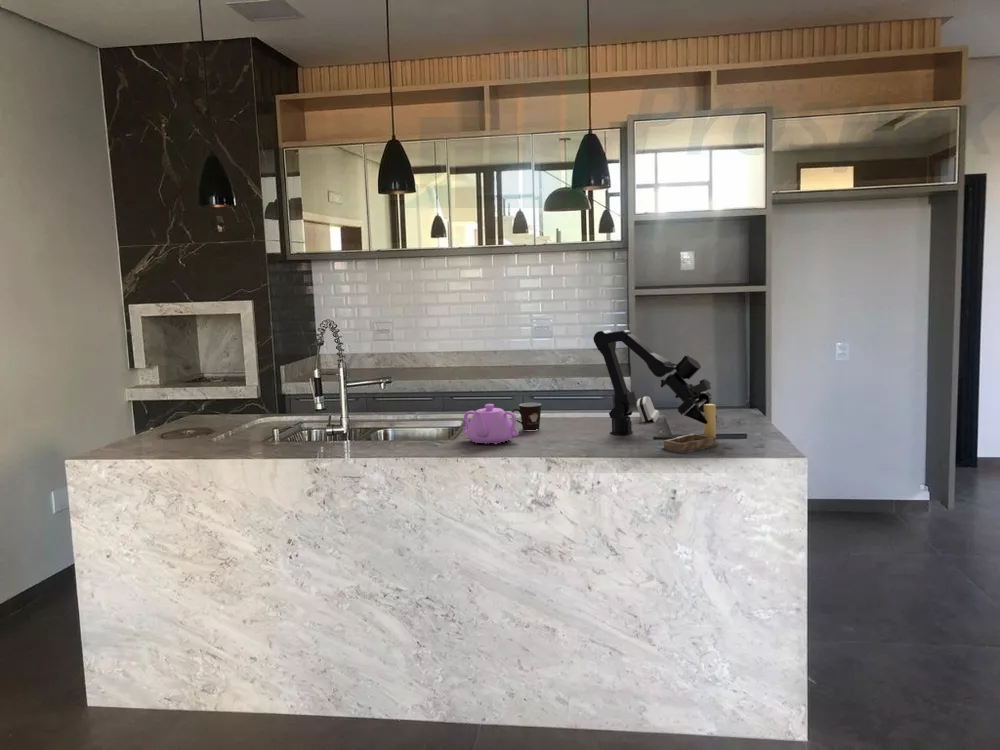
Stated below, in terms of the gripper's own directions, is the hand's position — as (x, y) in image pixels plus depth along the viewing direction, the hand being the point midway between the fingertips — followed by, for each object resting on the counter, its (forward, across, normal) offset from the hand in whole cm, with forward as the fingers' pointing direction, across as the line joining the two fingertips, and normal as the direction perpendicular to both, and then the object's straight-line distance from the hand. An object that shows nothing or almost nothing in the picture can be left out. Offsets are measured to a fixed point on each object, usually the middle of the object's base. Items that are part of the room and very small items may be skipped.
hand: (711, 420), depth 270 cm
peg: (+5, 0, +6) cm, 7 cm away
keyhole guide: (+2, -12, +8) cm, 14 cm away
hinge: (-21, +31, +32) cm, 49 cm away
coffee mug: (-45, -10, +55) cm, 71 cm away
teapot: (-45, -35, +55) cm, 79 cm away
